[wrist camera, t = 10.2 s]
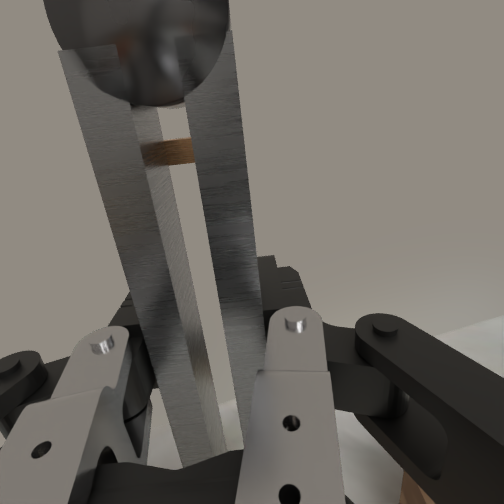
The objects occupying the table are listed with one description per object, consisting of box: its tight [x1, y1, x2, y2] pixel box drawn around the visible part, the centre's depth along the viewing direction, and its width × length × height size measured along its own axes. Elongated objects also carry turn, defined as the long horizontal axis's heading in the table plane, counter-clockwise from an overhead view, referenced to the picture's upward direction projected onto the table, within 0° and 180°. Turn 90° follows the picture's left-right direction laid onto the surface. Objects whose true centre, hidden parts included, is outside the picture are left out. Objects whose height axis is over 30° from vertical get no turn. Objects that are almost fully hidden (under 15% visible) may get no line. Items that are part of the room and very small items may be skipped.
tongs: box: [43, 0, 266, 468], centre depth 10 cm, size 3×3×21 cm
